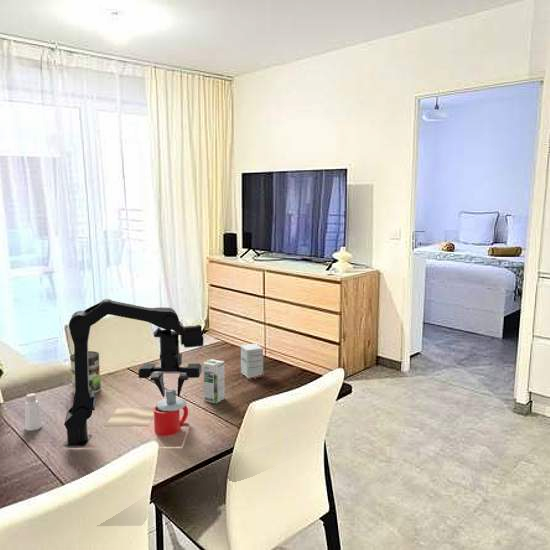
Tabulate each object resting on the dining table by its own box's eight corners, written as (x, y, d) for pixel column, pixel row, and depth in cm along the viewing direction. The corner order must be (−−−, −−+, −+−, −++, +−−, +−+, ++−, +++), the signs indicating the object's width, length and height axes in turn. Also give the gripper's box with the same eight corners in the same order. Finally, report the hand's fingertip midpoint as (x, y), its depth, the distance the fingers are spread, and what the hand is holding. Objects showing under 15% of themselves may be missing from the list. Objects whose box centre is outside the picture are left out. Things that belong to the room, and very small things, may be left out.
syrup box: (203, 401, 174) (202, 363, 172) (212, 395, 179) (211, 358, 177) (216, 404, 172) (215, 365, 169) (225, 398, 177) (224, 360, 175)
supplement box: (240, 374, 201) (240, 345, 199) (256, 371, 204) (256, 342, 202) (247, 380, 195) (246, 350, 193) (263, 377, 198) (263, 347, 196)
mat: (148, 427, 154) (148, 425, 154) (104, 427, 154) (104, 426, 154) (158, 408, 168) (157, 407, 168) (117, 408, 168) (117, 407, 168)
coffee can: (106, 386, 189) (104, 351, 186) (91, 396, 179) (89, 360, 176) (82, 384, 191) (80, 350, 188) (66, 394, 181) (63, 358, 178)
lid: (183, 411, 148) (183, 396, 148) (154, 411, 148) (153, 396, 147) (187, 399, 157) (187, 385, 156) (159, 399, 157) (159, 385, 156)
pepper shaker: (38, 421, 159) (35, 389, 157) (46, 426, 155) (43, 394, 153) (21, 427, 154) (18, 395, 153) (28, 432, 151) (26, 399, 149)
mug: (195, 425, 156) (194, 402, 154) (164, 439, 147) (163, 415, 145) (179, 418, 161) (179, 396, 159) (149, 431, 152) (148, 408, 150)
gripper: (203, 341, 158) (204, 386, 160) (146, 341, 157) (147, 386, 160) (198, 351, 147) (199, 400, 149) (136, 352, 146) (139, 400, 149)
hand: (171, 396), depth 152 cm, fingers open, 4 cm apart
